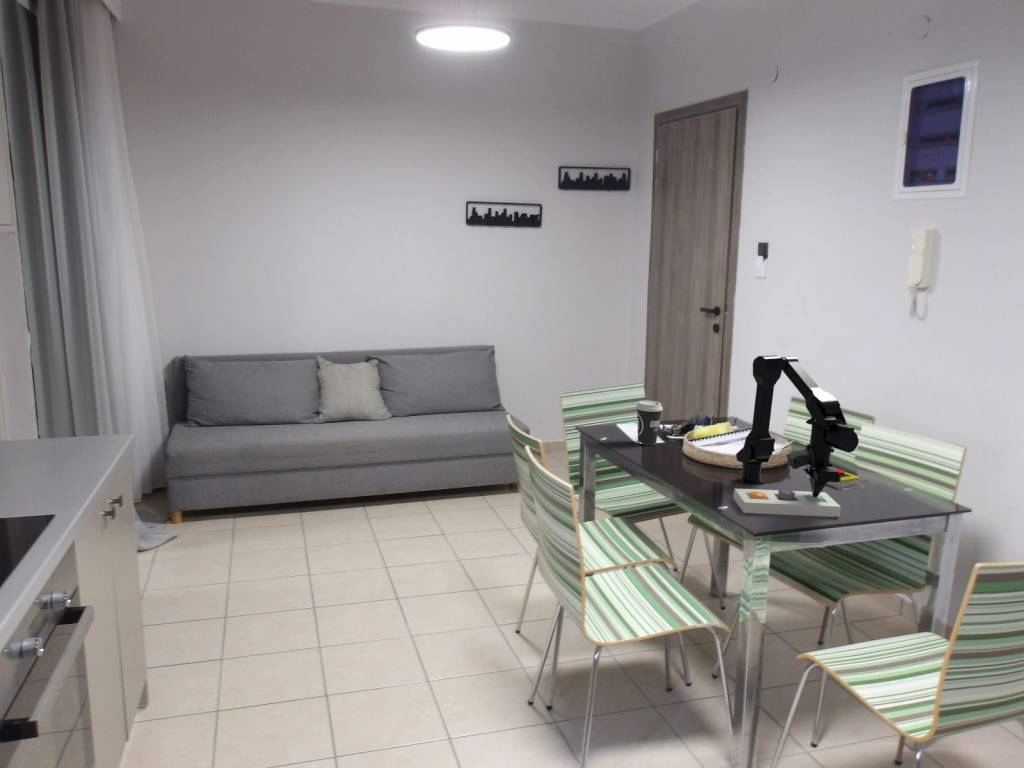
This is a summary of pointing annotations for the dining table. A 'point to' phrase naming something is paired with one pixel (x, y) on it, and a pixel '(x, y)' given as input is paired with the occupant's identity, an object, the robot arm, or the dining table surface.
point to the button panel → (786, 504)
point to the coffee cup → (648, 421)
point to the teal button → (814, 498)
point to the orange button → (757, 495)
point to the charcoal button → (786, 495)
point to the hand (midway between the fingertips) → (814, 496)
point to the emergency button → (845, 480)
